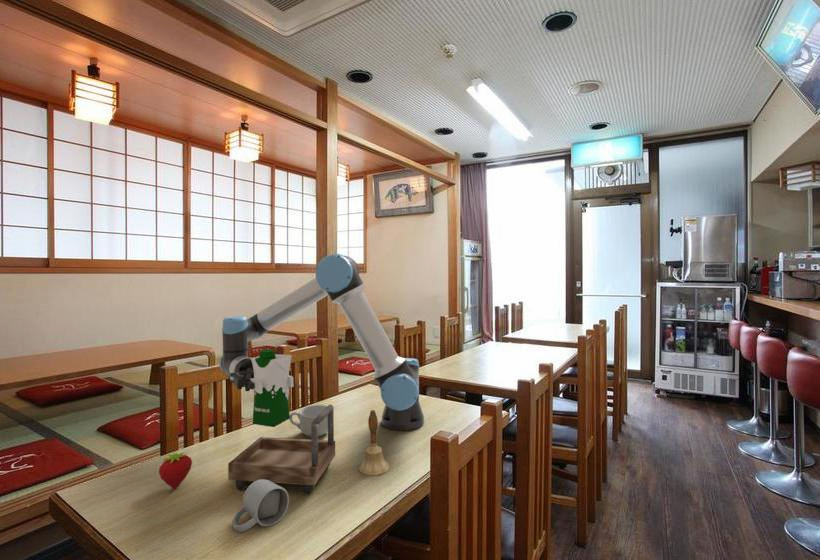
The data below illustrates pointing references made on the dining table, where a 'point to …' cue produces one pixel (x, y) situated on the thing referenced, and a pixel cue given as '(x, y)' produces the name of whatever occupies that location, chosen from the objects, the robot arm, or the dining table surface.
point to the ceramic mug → (262, 504)
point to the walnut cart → (286, 458)
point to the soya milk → (271, 388)
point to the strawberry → (175, 469)
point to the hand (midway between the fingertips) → (277, 385)
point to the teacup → (310, 419)
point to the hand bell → (373, 452)
